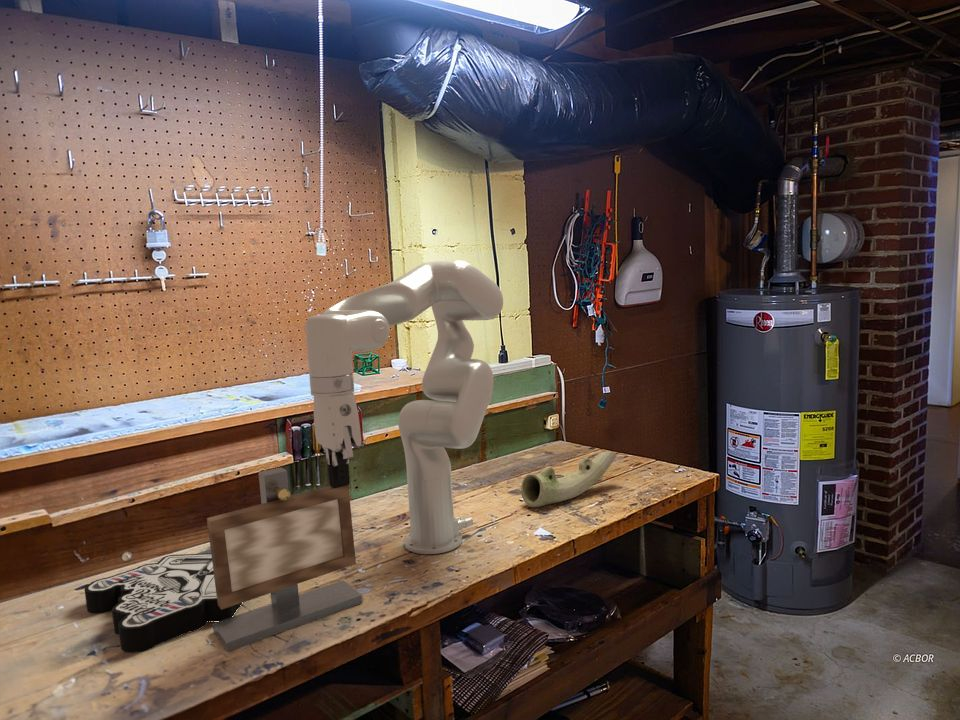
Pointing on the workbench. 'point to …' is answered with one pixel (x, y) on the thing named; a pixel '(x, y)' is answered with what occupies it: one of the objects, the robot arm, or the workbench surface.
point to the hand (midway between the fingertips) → (339, 485)
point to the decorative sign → (159, 600)
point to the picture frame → (280, 544)
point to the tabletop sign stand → (283, 592)
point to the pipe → (564, 481)
